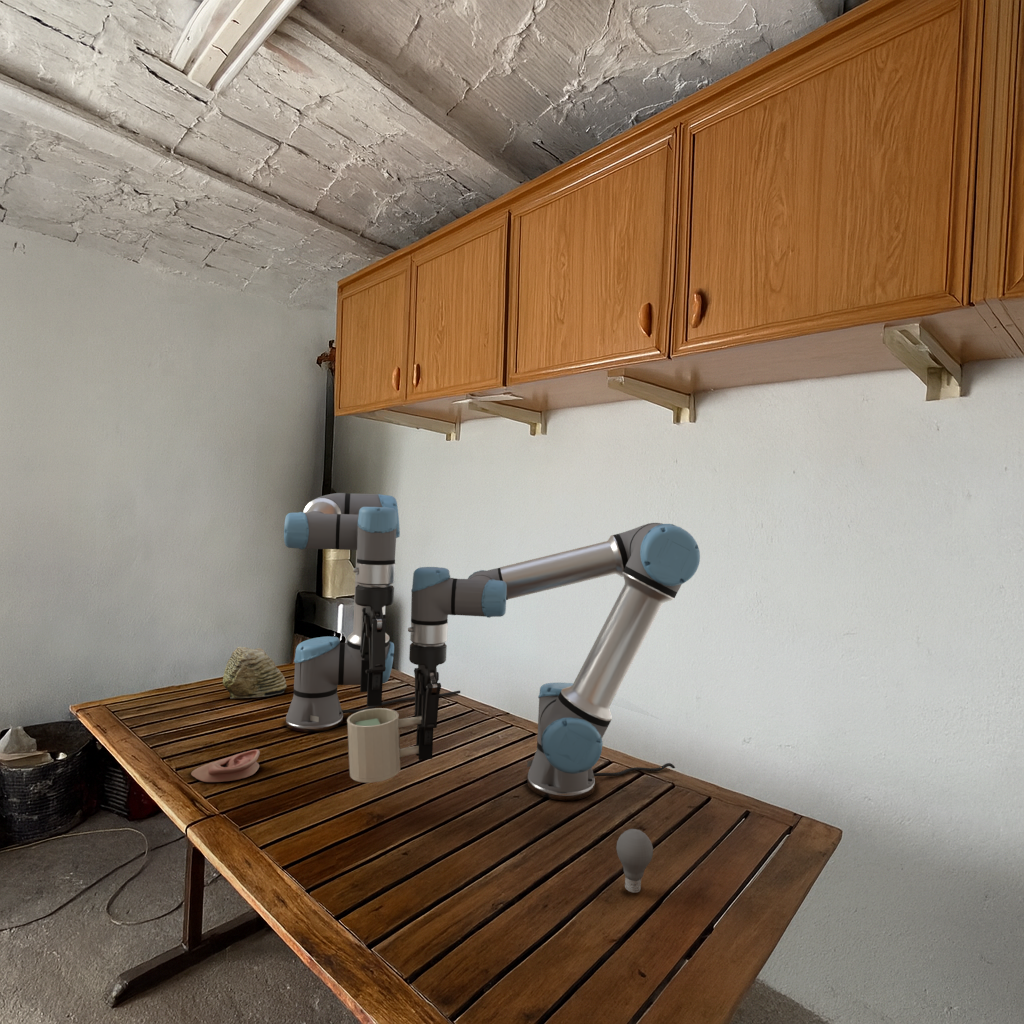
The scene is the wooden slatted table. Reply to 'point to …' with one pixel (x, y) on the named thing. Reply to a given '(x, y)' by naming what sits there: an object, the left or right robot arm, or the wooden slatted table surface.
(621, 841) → the light bulb
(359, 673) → the left robot arm
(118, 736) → the wooden slatted table surface
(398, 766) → the mug
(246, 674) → the fossil
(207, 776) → the anatomical model
